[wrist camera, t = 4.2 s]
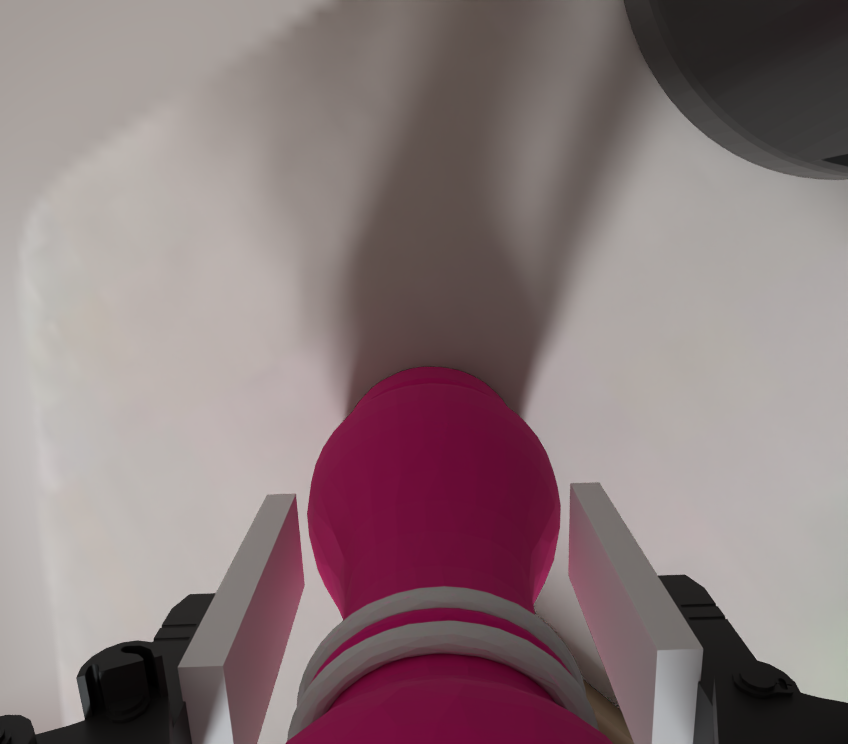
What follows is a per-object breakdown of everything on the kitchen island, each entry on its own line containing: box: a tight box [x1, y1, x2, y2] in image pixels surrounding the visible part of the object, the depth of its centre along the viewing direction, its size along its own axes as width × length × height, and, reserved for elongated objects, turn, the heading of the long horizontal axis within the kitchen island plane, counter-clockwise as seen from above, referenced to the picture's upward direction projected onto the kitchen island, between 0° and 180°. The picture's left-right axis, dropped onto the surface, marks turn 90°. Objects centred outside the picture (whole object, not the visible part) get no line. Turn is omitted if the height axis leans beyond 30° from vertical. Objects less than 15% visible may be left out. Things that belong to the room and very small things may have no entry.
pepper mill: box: [286, 367, 613, 744], centre depth 14 cm, size 7×7×20 cm
